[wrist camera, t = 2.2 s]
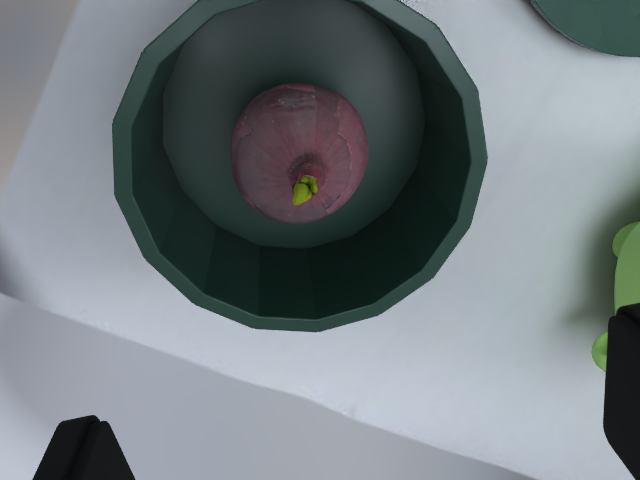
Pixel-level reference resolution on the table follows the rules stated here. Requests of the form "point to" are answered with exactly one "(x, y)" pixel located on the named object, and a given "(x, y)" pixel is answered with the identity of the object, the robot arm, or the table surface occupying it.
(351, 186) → the vegetable
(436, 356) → the table surface
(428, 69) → the pot
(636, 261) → the teapot
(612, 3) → the pot lid
